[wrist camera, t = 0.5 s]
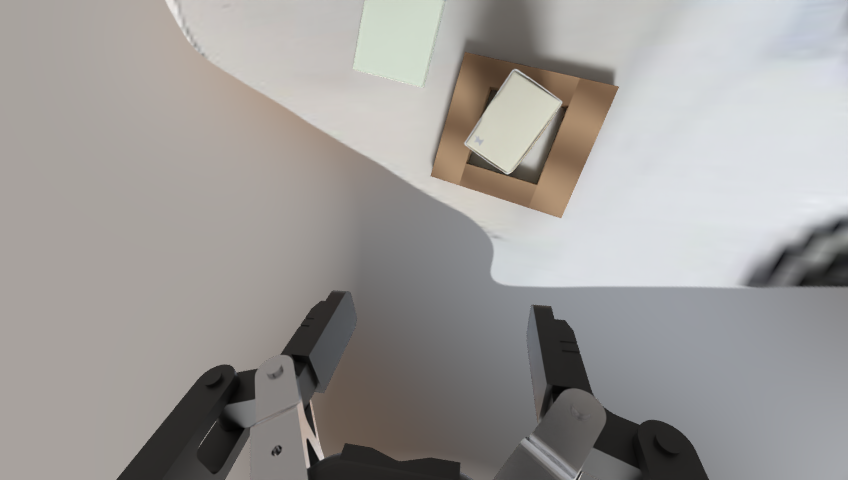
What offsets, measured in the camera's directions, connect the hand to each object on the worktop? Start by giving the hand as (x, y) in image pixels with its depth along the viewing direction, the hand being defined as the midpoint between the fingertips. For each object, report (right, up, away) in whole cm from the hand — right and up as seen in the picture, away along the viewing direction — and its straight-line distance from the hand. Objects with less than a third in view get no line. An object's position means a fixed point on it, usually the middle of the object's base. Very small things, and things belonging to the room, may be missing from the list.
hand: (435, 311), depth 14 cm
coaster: (-4, +26, +21) cm, 34 cm away
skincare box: (+9, +14, +20) cm, 26 cm away
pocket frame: (+9, +14, +20) cm, 26 cm away
